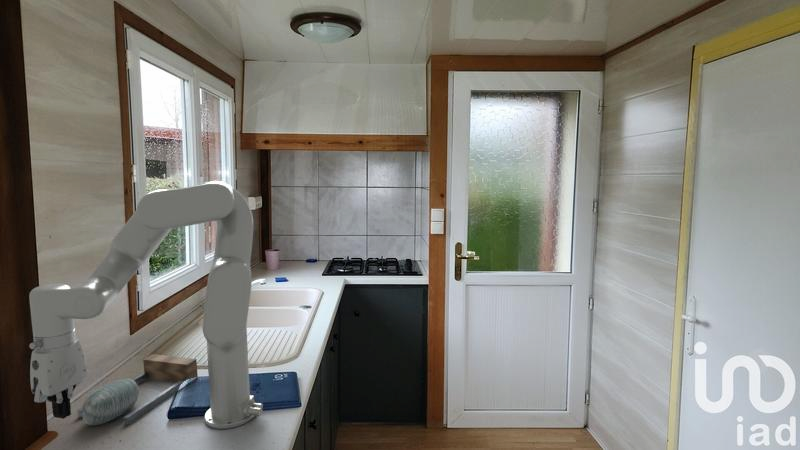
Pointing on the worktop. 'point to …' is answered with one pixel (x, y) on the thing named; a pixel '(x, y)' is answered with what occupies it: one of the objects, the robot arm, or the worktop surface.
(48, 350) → the robot arm
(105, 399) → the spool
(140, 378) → the guide rails
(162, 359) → the end stop
